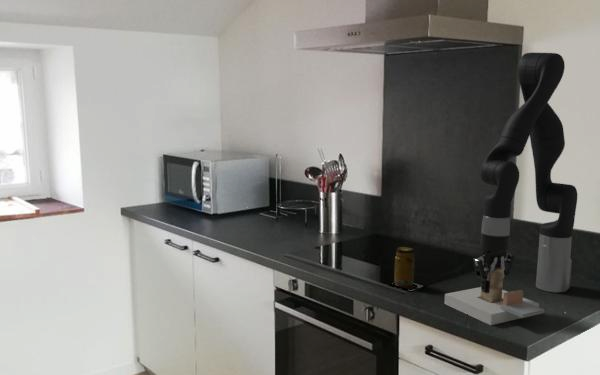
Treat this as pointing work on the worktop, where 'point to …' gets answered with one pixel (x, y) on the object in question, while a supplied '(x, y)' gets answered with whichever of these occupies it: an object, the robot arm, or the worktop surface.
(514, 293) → the brown block on tile
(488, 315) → the socket plate
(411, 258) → the condiment
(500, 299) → the peg
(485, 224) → the robot arm
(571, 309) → the worktop surface
